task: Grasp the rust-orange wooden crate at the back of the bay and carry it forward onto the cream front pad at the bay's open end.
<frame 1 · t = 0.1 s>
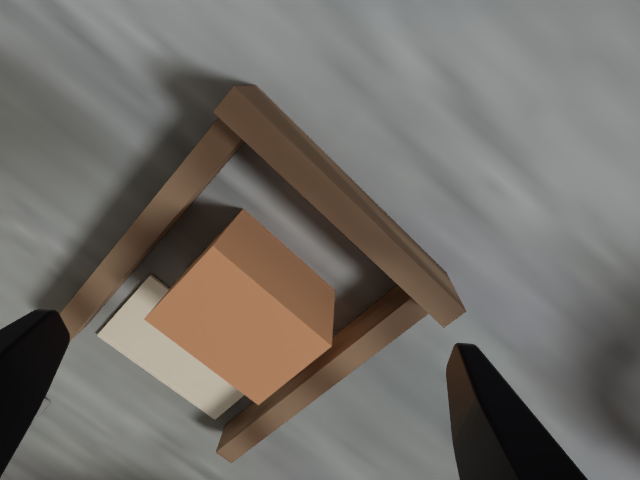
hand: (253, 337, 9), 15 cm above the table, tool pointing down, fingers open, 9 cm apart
bay: (241, 298, 26), on the table
crate: (261, 278, 26), resting in bay
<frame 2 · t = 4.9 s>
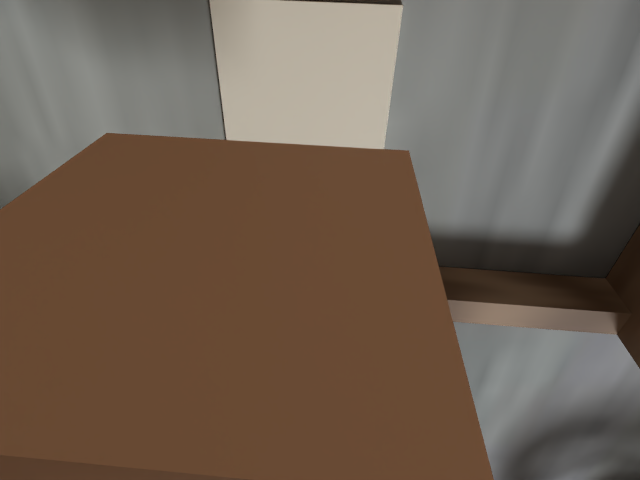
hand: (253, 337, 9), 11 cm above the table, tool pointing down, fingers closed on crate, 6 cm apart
bay: (451, 153, 17), on the table
crate: (266, 289, 10), point 9 cm above the table, touching gripper
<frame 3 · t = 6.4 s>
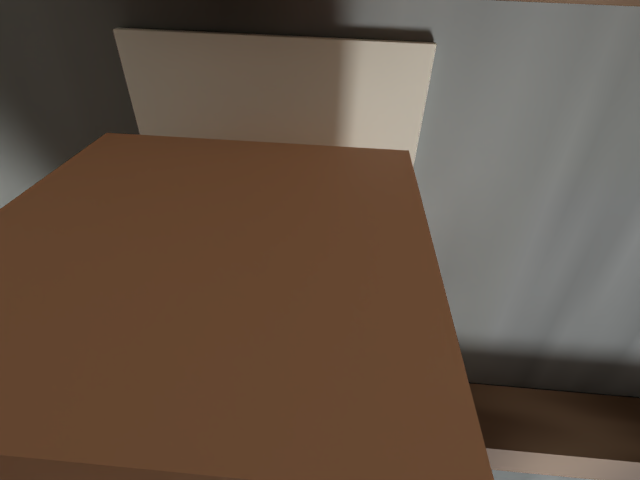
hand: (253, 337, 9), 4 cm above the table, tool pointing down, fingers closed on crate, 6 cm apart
bay: (499, 253, 11), on the table
crate: (265, 289, 10), point 2 cm above the table, touching gripper
when the fingers open (3 cm above the table, at t = 7.5 s): crate drops 1 cm, resting on bay.
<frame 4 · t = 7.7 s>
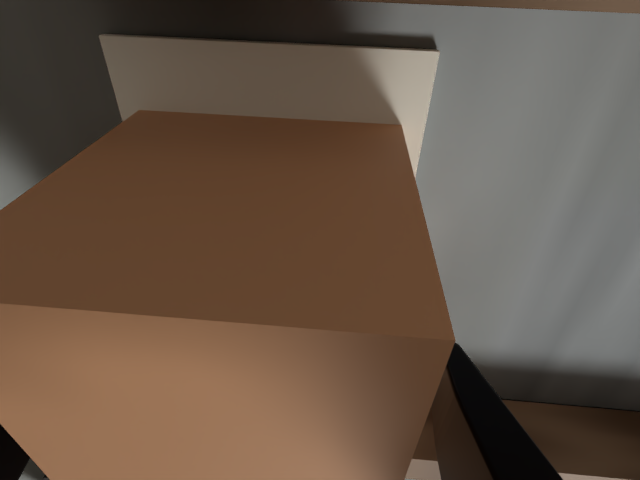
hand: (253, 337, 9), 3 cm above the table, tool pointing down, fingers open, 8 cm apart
bay: (503, 266, 11), on the table
crate: (275, 254, 11), resting on bay
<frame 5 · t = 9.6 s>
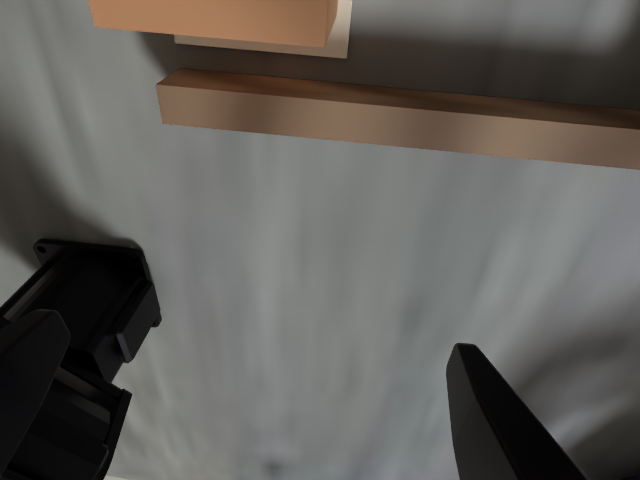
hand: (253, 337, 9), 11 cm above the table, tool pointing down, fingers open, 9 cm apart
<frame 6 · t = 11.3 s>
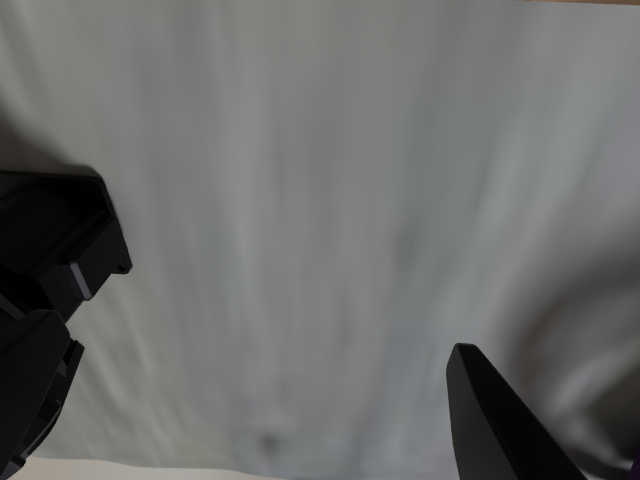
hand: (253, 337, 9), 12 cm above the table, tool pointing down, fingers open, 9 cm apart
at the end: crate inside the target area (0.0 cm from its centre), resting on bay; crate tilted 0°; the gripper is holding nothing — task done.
